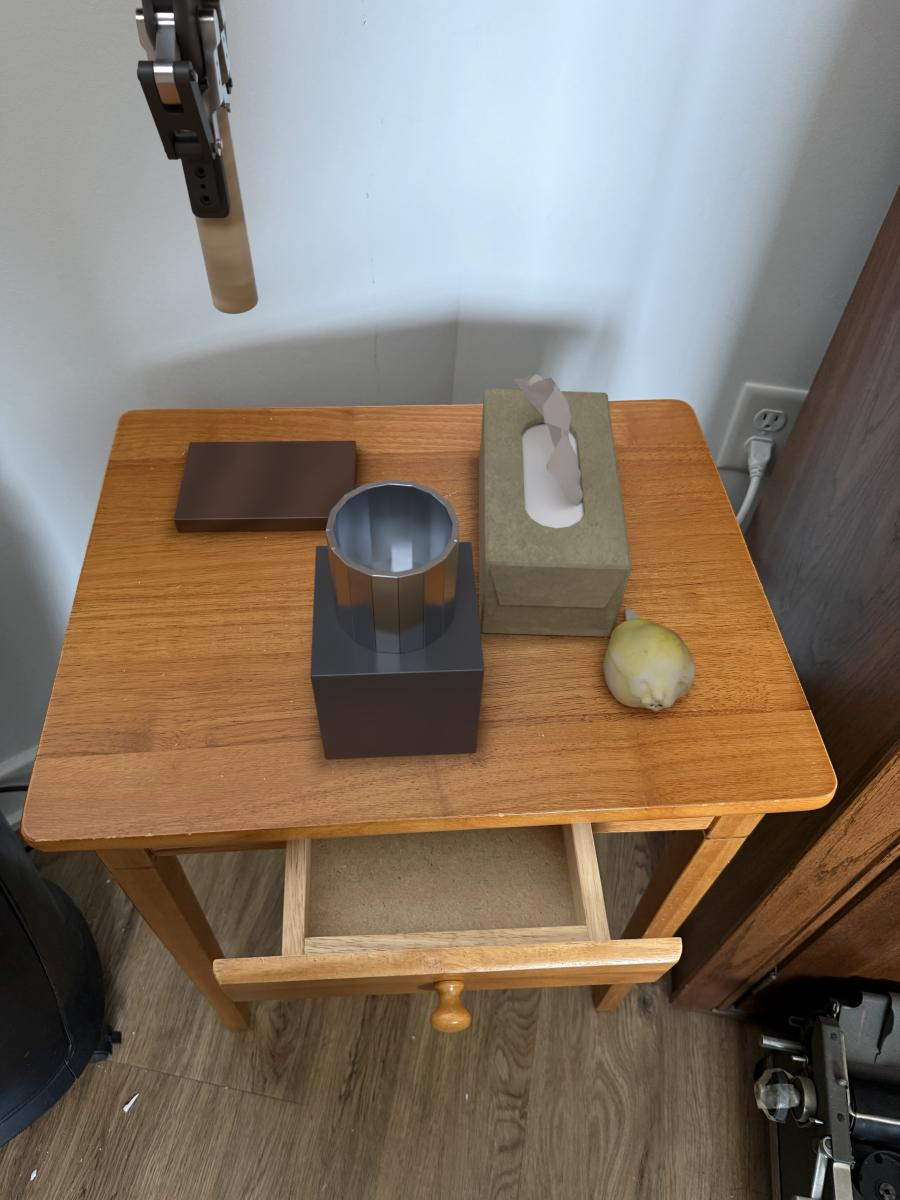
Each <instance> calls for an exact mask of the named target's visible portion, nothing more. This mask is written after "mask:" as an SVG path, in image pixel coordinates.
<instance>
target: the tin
mask: <svg viewBox="0 0 900 1200" xmlns="http://www.w3.org/2000/svg"><path fill="white" fill-rule="evenodd" d="M460 523H461V522H460V520H459V518H458V515H457V513H456V510H455V508H454V506H453V504H452V503H451V502H450V501H449V500H447V499H446V498H445V497H444V496H443V495H442V494H441V493H440V492H439V491H438V490H436V489H434V488H431V487H430V486H427V485H424V484H421V483H418V482H416V481H412V480H400V479H384V480H378V481H373V482H369V483H365V484H362V485H360V486H359V487H356V489H355V490H353V491H351V492H349V493H347V494H346V495H344V496H343V497H342V498H341V499H340V501H339V502H338V503H337V504H336V505H335V507H334V508H333V509H332V510H331V512H330V514H329V519H328V523H327V527H326V530H325V536H326V537H325V538H326V546H328V553H329V561H330V569H331V577H332V586H333V594H334V602H335V609H336V613H337V616H338V620H339V623H340V626H341V628H342V629H343V630H344V631H345V632H346V633H347V634H348V635H349V636H350V637H351V638H352V639H353V640H354V641H355V642H356V643H358V644H360V645H363V646H365V647H367V648H369V649H371V650H374V651H377V652H386V653H398V654H400V653H405V652H410V651H414V650H418V649H422V648H423V647H424V648H425V647H426V646H428V645H429V644H431V643H432V642H434V641H435V640H437V639H438V638H440V637H441V636H442V635H443V634H444V633H445V631H446V630H447V628H448V627H449V625H450V624H451V622H452V620H453V618H454V612H455V602H456V584H457V565H458V545H459V542H460Z"/></svg>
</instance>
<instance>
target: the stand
mask: <svg viewBox="0 0 900 1200" xmlns="http://www.w3.org/2000/svg"><path fill="white" fill-rule="evenodd" d="M473 554H474V553H473V544H472V541H459V545H458V565H457V584H456V602H455V612H454V618H453V620H452V622H451V624H450V625H449V627H448V628H447V630H446V631H445V633H444V634H443V635H442V636H441V637H440V638H438V639H437V640H435V641H434V642H432V643H431V644H429V645H428V646H426V647H425V648H424V647H423V648H422V649H418V650H414V651H410V652H405V653H400V654H398V653H386V652H377V651H374V650H371V649H369V648H367V647H365V646H363V645H360V644H358V643H356V642H355V641H354V640H353V639H352V638H351V637H350V636H349V635H348V634H347V633H346V632H345V631H344V630H343V629H342V628H341V626H340V623H339V620H338V616H337V613H336V609H335V602H334V594H333V586H332V577H331V569H330V561H329V553H328V545H316V546H315V559H314V583H313V585H314V586H313V603H312V605H313V606H312V607H313V608H312V629H311V630H312V631H311V650H310V651H311V653H310V672H309V673H310V675H309V676H310V682H311V689H312V693H313V699H314V704H315V710H316V716H317V721H318V722H317V723H318V726H319V732H320V733H319V734H320V738H321V739H320V740H321V745H322V748H323V749H322V750H323V755H324V759H325V760H341V759H364V758H365V759H366V758H386V757H387V758H388V757H389V758H390V757H391V758H392V757H410V756H411V757H413V756H414V757H415V756H434V755H435V756H437V755H459V754H462V755H463V754H476V753H477V747H478V746H477V745H478V736H479V727H480V726H479V725H480V716H481V707H482V696H483V688H484V687H483V686H484V679H485V677H484V676H485V664H484V663H485V662H484V661H485V660H484V653H483V644H482V632H481V631H480V622H479V603H478V602H479V601H478V594H477V585H476V573H475V563H474V562H475V561H474V555H473Z"/></svg>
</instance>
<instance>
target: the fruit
mask: <svg viewBox="0 0 900 1200" xmlns="http://www.w3.org/2000/svg"><path fill="white" fill-rule="evenodd" d="M624 616H625V620H624V621H622V622H621V623H619V624H618V625H617V626H615V627H614V630H613V632H612V634H611V636H610V637H609V641H608V645H607V648H606V652H605V654H604V658H603V668H602V669H603V675H604V680H605V683H606V685H607V688H608V690H609V692H610V693H611V694H612V696H613V697H614V699H615V700H616V701H617V702H618V703H620V704H622V705H624V706H627V707H631V708H644V709H648V710H652V711H654V712H659V711H662V710H663V709H668V708H671V707H672V706H673V705H674V703H675V702H676V701H677V700H678V699H680V698H682V697H683V696H685V695H686V694H687V693H689V692H690V691H691V689H692V688H693V685H694V682H695V680H696V674H697V673H696V663H695V660H694V657H693V655H692V653H691V651H690V649H689V647H688V646H687V644H686V642H685V641H684V640H683V638H682V637H681V636H680V634H678V633H677V632H676V631H674V630H673V629H671V628H669V627H666V626H664V625H661V624H659V623H658V622H656V621H653V620H650V619H646V618H641V617H640V616H639V614H638V613H636V612H635V611H634V610H633V609H632V608H630V607H625V608H624Z"/></svg>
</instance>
